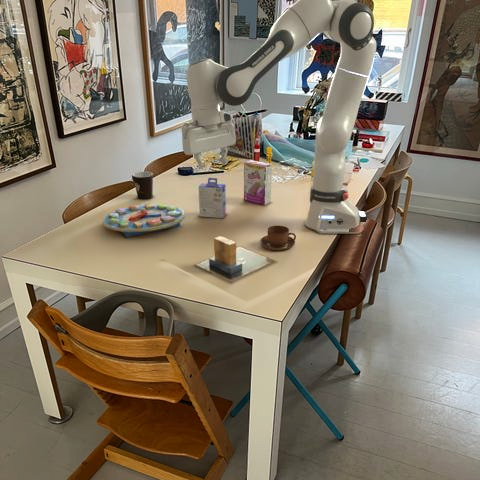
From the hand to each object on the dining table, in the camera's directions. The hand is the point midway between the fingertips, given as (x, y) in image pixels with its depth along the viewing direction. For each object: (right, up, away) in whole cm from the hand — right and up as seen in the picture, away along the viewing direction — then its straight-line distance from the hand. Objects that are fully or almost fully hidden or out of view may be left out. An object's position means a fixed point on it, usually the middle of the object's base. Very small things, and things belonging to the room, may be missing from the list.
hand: (212, 164), depth 155 cm
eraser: (+4, -33, -3) cm, 34 cm away
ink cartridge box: (-2, -8, +37) cm, 38 cm away
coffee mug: (-34, +4, +57) cm, 66 cm away
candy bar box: (+16, 0, +51) cm, 53 cm away
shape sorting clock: (-28, -14, +29) cm, 42 cm away
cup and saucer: (+22, -25, +12) cm, 35 cm away
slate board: (+7, -32, 0) cm, 33 cm away
